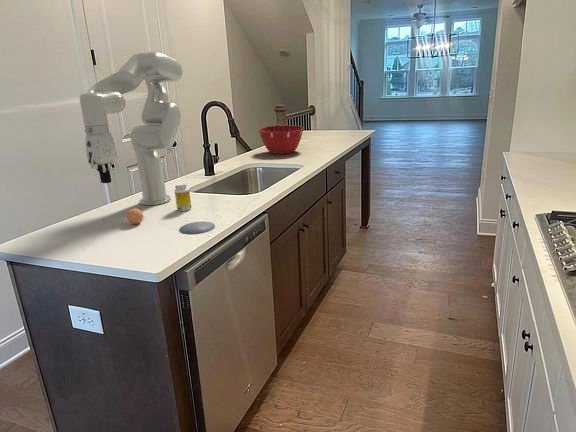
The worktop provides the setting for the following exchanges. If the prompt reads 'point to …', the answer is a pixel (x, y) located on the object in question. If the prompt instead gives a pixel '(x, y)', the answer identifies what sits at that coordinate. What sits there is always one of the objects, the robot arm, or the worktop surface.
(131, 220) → the ball
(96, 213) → the worktop surface
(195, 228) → the disc
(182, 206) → the supplement bottle
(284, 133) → the mixing bowl
